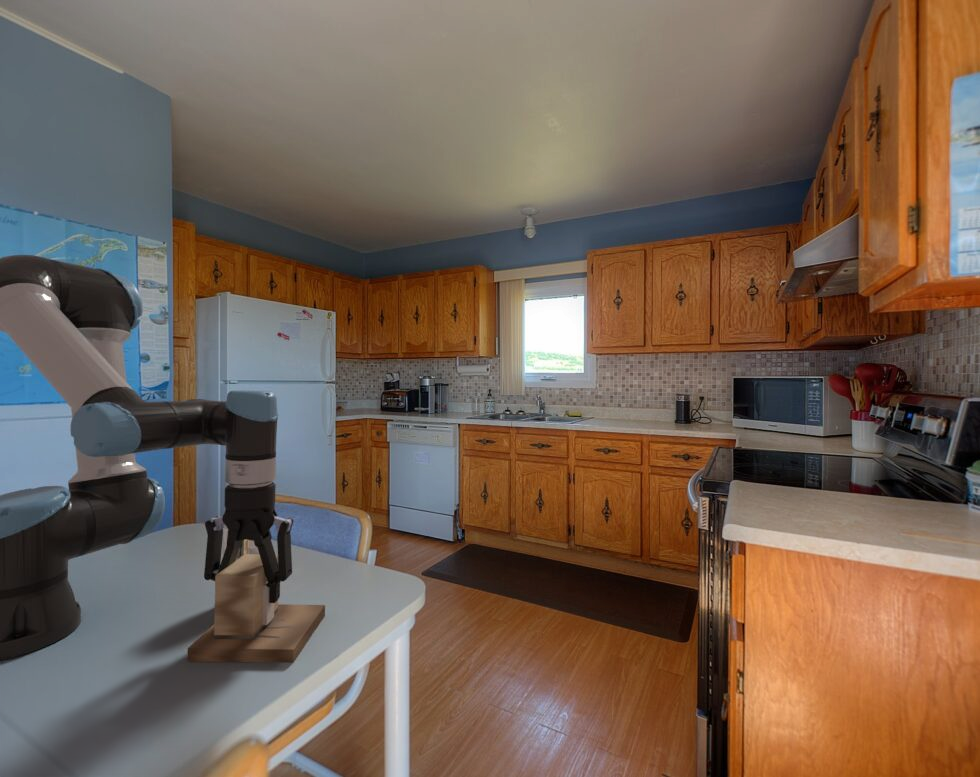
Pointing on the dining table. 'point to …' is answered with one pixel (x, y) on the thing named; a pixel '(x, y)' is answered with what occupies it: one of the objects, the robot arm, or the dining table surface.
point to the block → (240, 599)
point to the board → (263, 638)
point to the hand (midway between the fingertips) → (247, 620)
